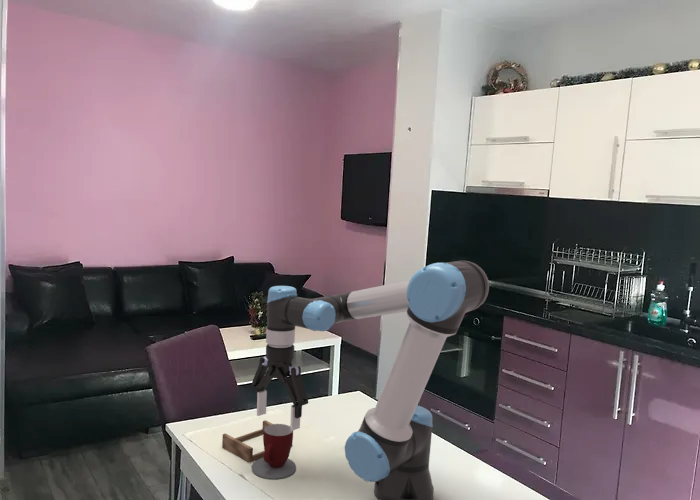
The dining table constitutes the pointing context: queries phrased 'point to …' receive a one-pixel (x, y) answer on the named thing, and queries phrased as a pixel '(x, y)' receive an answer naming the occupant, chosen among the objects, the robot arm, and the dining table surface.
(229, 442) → the wooden tray frame
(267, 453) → the mug
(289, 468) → the coaster
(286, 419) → the dining table surface
